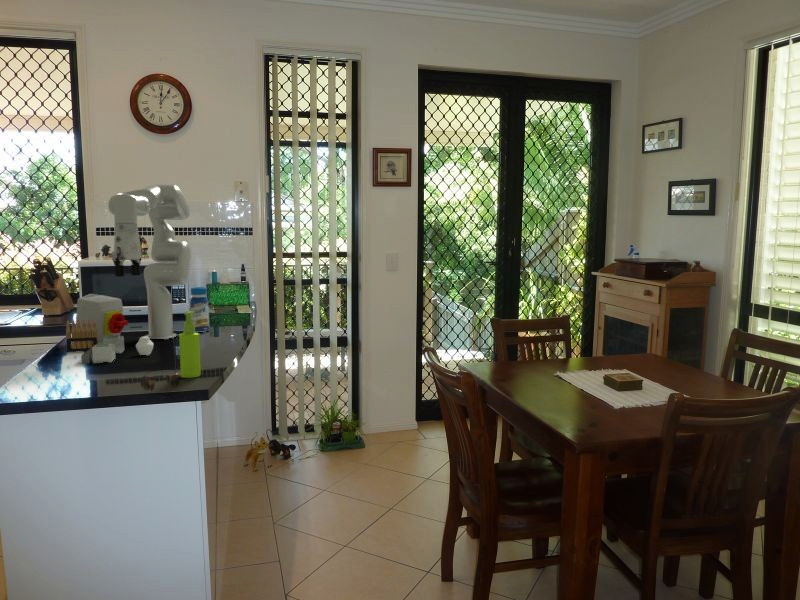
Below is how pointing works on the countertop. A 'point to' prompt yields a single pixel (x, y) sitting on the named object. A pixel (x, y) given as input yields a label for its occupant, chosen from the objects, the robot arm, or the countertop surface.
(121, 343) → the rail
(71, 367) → the countertop surface
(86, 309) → the electrical switch box
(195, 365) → the soap dispenser
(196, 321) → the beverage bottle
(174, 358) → the countertop surface
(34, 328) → the countertop surface
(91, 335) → the ammunition clip
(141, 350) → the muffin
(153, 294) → the robot arm
